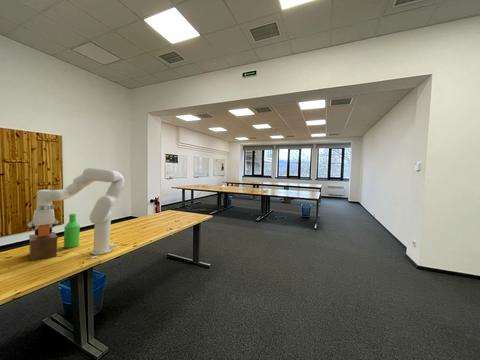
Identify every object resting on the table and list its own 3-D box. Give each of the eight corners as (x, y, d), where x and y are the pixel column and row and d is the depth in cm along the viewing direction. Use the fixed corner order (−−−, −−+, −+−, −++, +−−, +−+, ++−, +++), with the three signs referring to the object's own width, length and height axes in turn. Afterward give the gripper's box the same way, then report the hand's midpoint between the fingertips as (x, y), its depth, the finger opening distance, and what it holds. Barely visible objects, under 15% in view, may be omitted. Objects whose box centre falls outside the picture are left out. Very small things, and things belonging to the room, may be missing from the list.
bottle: (66, 245, 151) (67, 213, 151) (80, 244, 155) (81, 212, 155) (62, 249, 143) (63, 215, 143) (77, 247, 147) (78, 214, 147)
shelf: (54, 249, 142) (54, 231, 142) (57, 256, 131) (57, 236, 131) (28, 254, 132) (29, 235, 132) (29, 261, 122) (30, 240, 122)
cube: (48, 233, 135) (48, 225, 135) (49, 235, 132) (49, 227, 132) (37, 234, 131) (37, 226, 131) (37, 236, 128) (38, 228, 128)
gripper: (60, 206, 141) (59, 231, 141) (25, 208, 128) (24, 235, 128) (62, 207, 136) (61, 233, 136) (25, 209, 123) (24, 238, 123)
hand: (43, 234), depth 132 cm, fingers closed on cube, 5 cm apart
